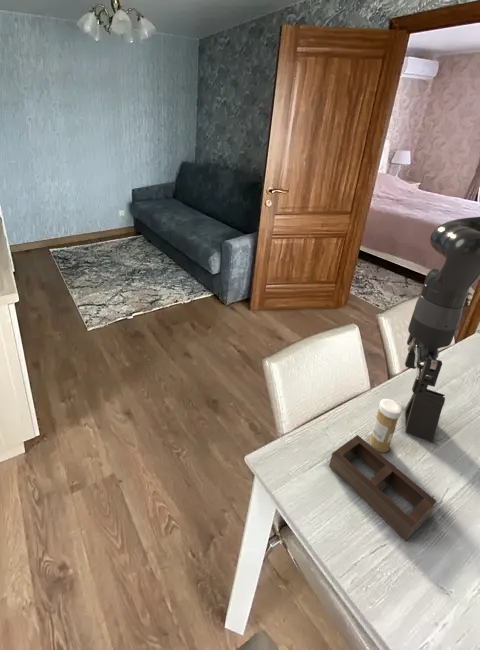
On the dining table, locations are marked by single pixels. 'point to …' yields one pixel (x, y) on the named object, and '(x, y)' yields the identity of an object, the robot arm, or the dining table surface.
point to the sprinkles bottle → (385, 425)
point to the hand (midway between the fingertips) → (413, 379)
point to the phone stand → (424, 414)
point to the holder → (382, 486)
